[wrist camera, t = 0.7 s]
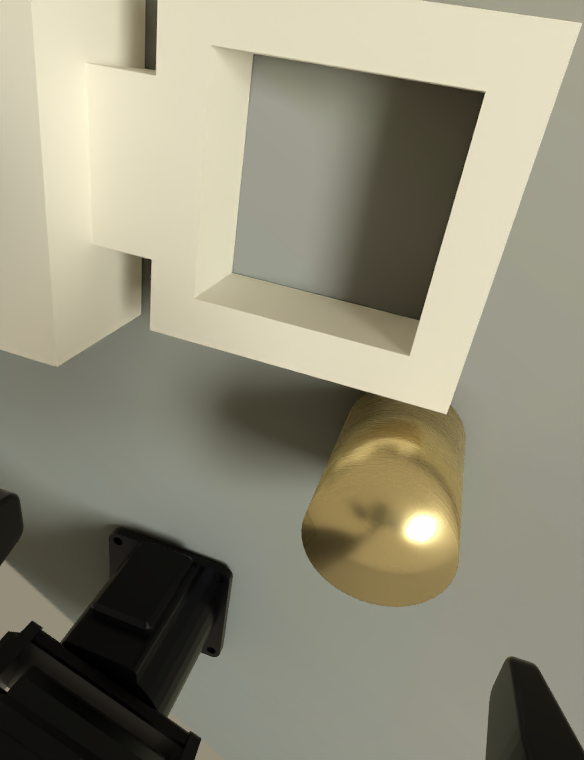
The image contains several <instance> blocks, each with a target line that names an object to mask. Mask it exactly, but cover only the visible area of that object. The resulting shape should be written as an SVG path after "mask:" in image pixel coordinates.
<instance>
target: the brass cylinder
mask: <svg viewBox="0 0 584 760" xmlns="http://www.w3.org/2000/svg"><path fill="white" fill-rule="evenodd" d="M464 455H465V432H464V427H463V424H462V421H461V419H460V417H459V416H458V414H457V412H456V411H455V410H454V408H453V407H452V406H451V405H450V406H449V409H448V412H447V414H443V413H440V412H436V411H433V410H429V409H426V408H422V407H419V406H415V405H412V404H408V403H405V402H401V401H398V400H394V399H391V398H387V397H384V396H380V395H377V394H373V393H370V392H367V393H366V394H364V395H363V396H362V397H360V398H359V399H358V400H357V401H356V402H355V404H354V405H353V407H352V408H351V410H350V412H349V414H348V417H347V419H346V421H345V424H344V426H343V428H342V430H341V433H340V435H339V437H338V440H337V442H336V444H335V447H334V449H333V451H332V454H331V456H330V458H329V461H328V463H327V465H326V468H325V470H324V472H323V475H322V477H321V479H320V482H319V484H318V486H317V489H316V491H315V493H314V495H313V498H312V500H311V502H310V505H309V507H308V509H307V512H306V514H305V517H304V520H303V523H302V541H303V546H304V549H305V552H306V554H307V556H308V558H309V560H310V562H311V563H312V565H313V566H314V568H315V569H316V570H317V571H318V572H319V573H320V575H321V576H322V577H323V578H325V579H326V580H327V581H328V582H329V583H330V584H332V585H333V586H334V587H336V588H337V589H339V590H340V591H342V592H344V593H346V594H348V595H349V596H351V597H354V598H356V599H359V600H361V601H365V602H368V603H371V604H376V605H382V606H393V607H401V606H410V605H416V604H420V603H423V602H426V601H428V600H430V599H432V598H434V597H436V596H437V595H439V594H440V593H442V592H443V591H444V590H445V589H446V588H447V587H448V586H449V585H450V583H451V582H452V580H453V578H454V577H455V575H456V572H457V568H458V562H459V548H460V529H461V510H462V492H463V473H464Z"/></svg>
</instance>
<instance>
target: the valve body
mask: <svg viewBox="0 0 584 760" xmlns="http://www.w3.org/2000/svg"><path fill="white" fill-rule="evenodd" d="M145 13H146V0H0V350H3V351H7V352H10V353H13V354H16V355H19V356H23V357H26V358H29V359H32V360H36V361H39V362H42V363H45V364H48V365H52V366H55V367H58V366H60V365H61V364H63V363H64V362H66V361H68V360H69V359H71V358H72V357H74V356H76V355H77V354H79V353H80V352H82V351H83V350H85V349H87V348H88V347H90V346H91V345H93V344H95V343H96V342H98V341H99V340H101V339H103V338H104V337H106V336H107V335H109V334H111V333H112V332H114V331H115V330H117V329H119V328H120V327H122V326H123V325H125V324H127V323H128V322H130V321H131V320H133V319H135V318H136V317H138V316H139V315H141V290H142V257H144V258H148V259H152V264H151V307H150V330H152V331H155V332H159V333H162V334H166V335H169V336H173V337H176V338H180V339H184V340H187V341H191V342H194V343H198V344H201V345H205V346H208V347H212V348H215V349H219V350H222V351H226V352H229V353H233V354H236V355H240V356H243V357H247V358H250V359H254V360H257V361H261V362H264V363H268V364H271V365H275V366H278V367H282V368H285V369H289V370H292V371H296V372H299V373H303V374H306V375H310V376H314V377H317V378H321V379H324V380H328V381H331V382H335V383H338V384H342V385H345V386H349V387H352V388H356V389H359V390H363V391H366V392H370V393H373V394H377V395H380V396H384V397H387V398H391V399H394V400H398V401H401V402H405V403H408V404H412V405H415V406H419V407H422V408H426V409H429V410H433V411H436V412H440V413H443V414H447V412H448V409H449V406H450V403H451V400H452V398H453V395H454V392H455V389H456V386H457V383H458V380H459V377H460V374H461V372H462V369H463V366H464V363H465V360H466V357H467V354H468V351H469V348H470V346H471V343H472V340H473V337H474V334H475V331H476V328H477V325H478V322H479V320H480V317H481V314H482V311H483V308H484V305H485V302H486V299H487V297H488V294H489V291H490V288H491V285H492V282H493V279H494V276H495V273H496V271H497V268H498V265H499V262H500V259H501V256H502V253H503V250H504V247H505V245H506V242H507V239H508V236H509V233H510V230H511V227H512V224H513V221H514V219H515V216H516V213H517V210H518V207H519V204H520V201H521V198H522V195H523V193H524V190H525V187H526V184H527V181H528V178H529V175H530V172H531V169H532V167H533V164H534V161H535V158H536V155H537V152H538V149H539V146H540V143H541V141H542V138H543V135H544V132H545V129H546V126H547V123H548V120H549V117H550V115H551V112H552V109H553V106H554V103H555V100H556V97H557V94H558V91H559V89H560V86H561V83H562V80H563V77H564V74H565V71H566V68H567V65H568V63H569V60H570V57H571V54H572V51H573V48H574V45H575V42H576V39H577V37H578V34H579V31H580V28H581V25H582V23H577V22H570V21H563V20H556V19H548V18H541V17H534V16H527V15H520V14H513V13H506V12H499V11H492V10H485V9H478V8H471V7H463V6H456V5H449V4H442V3H435V2H428V1H421V0H158V8H157V50H156V70H151V69H145ZM253 54H258V55H264V56H270V57H276V58H282V59H288V60H294V61H299V62H305V63H311V64H317V65H323V66H329V67H335V68H341V69H347V70H352V71H358V72H364V73H370V74H376V75H382V76H388V77H394V78H399V79H405V80H411V81H417V82H423V83H429V84H435V85H441V86H446V87H452V88H458V89H464V90H470V91H476V92H482V93H485V96H484V100H483V103H482V106H481V110H480V113H479V117H478V120H477V124H476V127H475V131H474V134H473V138H472V141H471V145H470V148H469V152H468V155H467V159H466V162H465V165H464V169H463V172H462V176H461V179H460V183H459V186H458V190H457V193H456V197H455V200H454V204H453V207H452V211H451V214H450V218H449V221H448V225H447V228H446V231H445V235H444V238H443V242H442V245H441V249H440V252H439V256H438V259H437V263H436V266H435V270H434V273H433V277H432V280H431V284H430V287H429V290H428V294H427V297H426V301H425V304H424V308H423V311H422V315H421V318H420V320H416V319H412V318H408V317H404V316H400V315H396V314H392V313H388V312H384V311H380V310H376V309H372V308H369V307H365V306H361V305H357V304H353V303H349V302H345V301H341V300H337V299H333V298H329V297H325V296H321V295H317V294H313V293H310V292H306V291H302V290H298V289H294V288H290V287H286V286H282V285H278V284H274V283H270V282H266V281H262V280H258V279H254V278H251V277H247V276H243V275H239V274H235V273H232V266H233V256H234V246H235V236H236V226H237V216H238V206H239V195H240V185H241V175H242V165H243V155H244V145H245V135H246V125H247V115H248V104H249V94H250V84H251V74H252V64H253Z"/></svg>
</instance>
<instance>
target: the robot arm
mask: <svg viewBox="0 0 584 760" xmlns="http://www.w3.org/2000/svg"><path fill="white" fill-rule="evenodd" d="M22 532H23V519H22V512H21V505H20V499H19V497H18V496H17V495H16V494H15V493H12V492H9V491H6V490H2V489H0V565H1V564H2V563H3V561H4V560H5V558H6V557H7V556H8V554H9V553H10V552H11V550H12V549H13V547H14V546H15V545H16V543H17V542H18V540H19V539H20V537H21V535H22ZM109 556H110V579H109V581H108V582H107V583H106V584H105V586H104V587H103V588H102V590H101V591H100V592H99V593H98V595H97V596H96V597H95V598H94V600H93V601H92V602H91V604H90V605H89V606H88V607H87V609H86V610H85V611H84V613H83V614H82V615H81V616H80V618H79V619H78V620H77V622H76V623H75V624H74V625H73V627H72V628H71V629H70V631H69V632H68V633H67V634H66V636H65V637H64V638H63V640H62V641H61V642H58V641H57V640H55V639H54V638H52V637H51V636H50V635H48V634H47V633H45V632H44V631H42V627H41V626H40V625H38V624H37V623H35V622H34V621H31V622H30V623H29V625H28V626H27V627H26V628H25V629H24V630H23V631H21V632H20V633H18V632H10V631H9V632H7V633H6V634H5V636H4V637H3V638H2V639H1V640H0V760H194V759H195V756H196V753H197V750H198V747H199V744H200V741H201V738H200V737H199V736H197V735H196V734H194V733H193V732H192V731H190V732H187V731H186V730H184V729H183V728H181V727H180V726H179V725H177V724H176V723H174V722H173V721H171V720H170V719H168V718H167V717H168V715H169V713H170V711H171V709H172V707H173V705H174V703H175V701H176V699H177V697H178V695H179V693H180V691H181V689H182V687H183V686H184V684H185V682H186V680H187V678H188V676H189V674H190V672H191V670H192V668H193V666H194V664H195V662H196V660H197V658H198V656H199V654H200V652H201V653H204V654H206V655H209V656H212V657H217V656H219V654H220V652H221V650H222V648H223V643H224V635H225V628H226V621H227V614H228V607H229V600H230V592H231V585H232V578H233V575H232V572H231V570H230V569H229V568H227V567H225V566H223V565H220V564H218V563H215V562H212V561H210V560H207V559H204V558H201V557H199V556H196V555H193V554H190V553H188V552H185V551H182V550H180V549H177V548H174V547H171V546H169V545H166V544H163V543H160V542H158V541H155V540H152V539H149V538H147V537H144V536H141V535H139V534H136V533H133V532H130V531H128V530H125V529H122V528H116V529H115V530H114V531H113V532H112V533H111V535H110V536H109ZM6 687H9V688H10V690H9V691H8V692H6V691H5V688H6ZM486 760H584V750H583V748H582V746H581V745H580V743H579V741H578V739H577V737H576V736H575V734H574V732H573V730H572V728H571V727H570V725H569V723H568V721H567V719H566V717H565V716H564V714H563V712H562V710H561V708H560V707H559V705H558V703H557V701H556V699H555V698H554V696H553V694H552V692H551V690H550V688H549V687H548V685H547V683H546V681H545V679H544V678H543V676H542V674H541V672H540V670H539V669H538V667H537V666H536V665H535V664H533V663H531V662H528V661H525V660H522V659H519V658H516V657H512V656H510V657H508V658H507V659H506V660H505V662H504V664H503V666H502V668H501V670H500V672H499V674H498V676H497V679H496V681H495V683H494V685H493V687H492V691H491V695H490V702H489V716H488V731H487V745H486Z"/></svg>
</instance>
